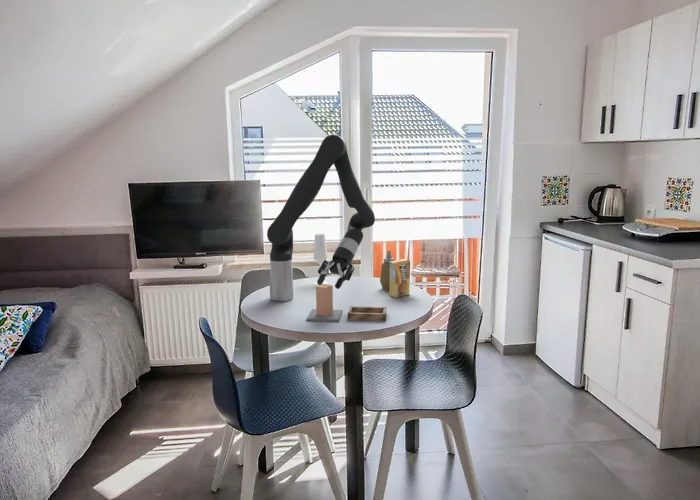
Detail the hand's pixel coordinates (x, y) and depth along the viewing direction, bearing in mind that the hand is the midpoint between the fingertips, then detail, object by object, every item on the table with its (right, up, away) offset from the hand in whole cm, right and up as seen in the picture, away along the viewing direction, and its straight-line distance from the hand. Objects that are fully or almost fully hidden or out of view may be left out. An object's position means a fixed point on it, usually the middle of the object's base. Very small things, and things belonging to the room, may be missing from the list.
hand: (327, 286), depth 177 cm
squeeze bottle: (+26, -4, +39) cm, 47 cm away
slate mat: (-1, -11, 0) cm, 11 cm away
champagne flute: (-6, -3, +50) cm, 51 cm away
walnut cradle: (+15, -11, 0) cm, 19 cm away
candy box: (+30, -6, +29) cm, 42 cm away
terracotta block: (-1, -11, 0) cm, 11 cm away
